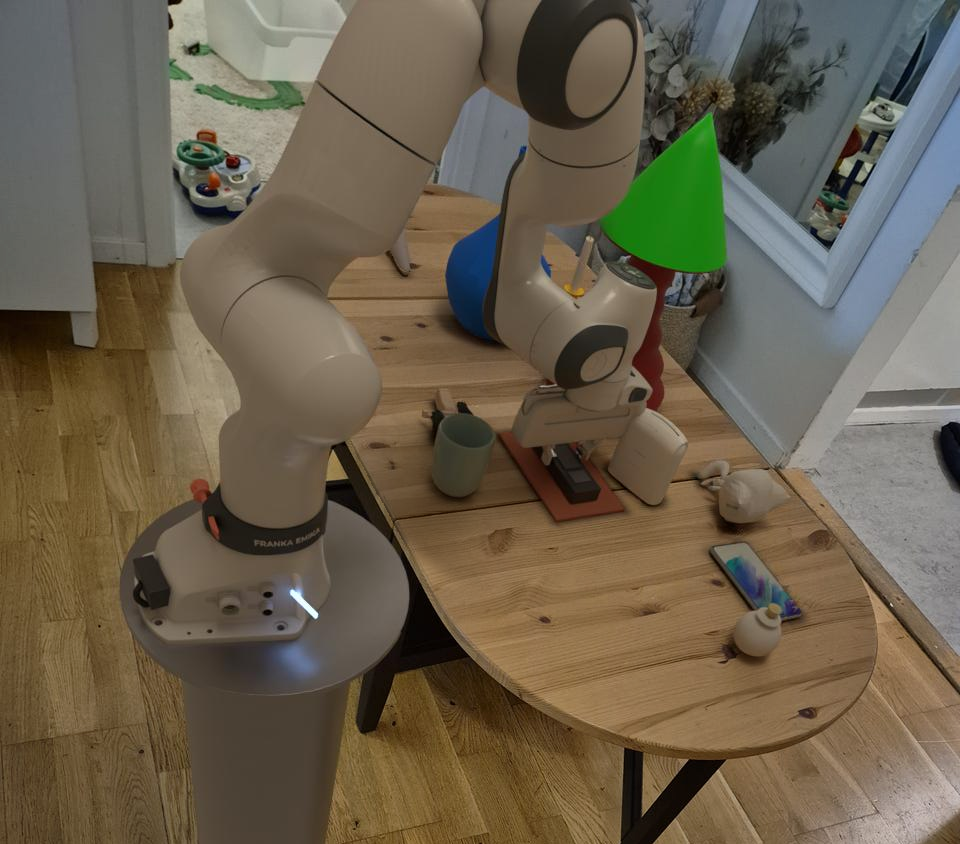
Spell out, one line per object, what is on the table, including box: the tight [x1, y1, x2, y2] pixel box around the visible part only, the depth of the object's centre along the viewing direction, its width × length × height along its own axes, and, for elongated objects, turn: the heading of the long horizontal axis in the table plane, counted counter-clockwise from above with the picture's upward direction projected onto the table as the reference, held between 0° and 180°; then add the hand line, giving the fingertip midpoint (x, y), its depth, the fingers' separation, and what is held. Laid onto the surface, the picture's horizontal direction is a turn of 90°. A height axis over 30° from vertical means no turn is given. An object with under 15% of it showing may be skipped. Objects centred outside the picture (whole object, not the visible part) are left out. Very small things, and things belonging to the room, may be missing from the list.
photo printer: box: [607, 408, 689, 506], centre depth 124 cm, size 10×4×12 cm, turn 41°
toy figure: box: [421, 387, 474, 438], centre depth 125 cm, size 7×6×15 cm
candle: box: [563, 235, 595, 300], centre depth 152 cm, size 5×5×16 cm
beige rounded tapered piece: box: [695, 460, 791, 524], centre depth 128 cm, size 10×8×15 cm
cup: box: [430, 412, 496, 498], centre depth 115 cm, size 8×8×10 cm
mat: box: [498, 431, 626, 523], centre depth 126 cm, size 12×20×1 cm, turn 24°
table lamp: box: [546, 111, 728, 413], centre depth 125 cm, size 20×20×45 cm
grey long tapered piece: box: [388, 227, 411, 276], centre depth 161 cm, size 8×9×26 cm
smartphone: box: [709, 541, 803, 622], centre depth 119 cm, size 7×1×15 cm
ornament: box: [732, 596, 804, 657], centre depth 107 cm, size 6×7×10 cm
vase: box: [444, 145, 552, 341], centre depth 138 cm, size 18×18×30 cm
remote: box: [532, 443, 601, 504], centre depth 125 cm, size 15×5×2 cm, turn 24°
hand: (564, 460), depth 125 cm, fingers closed on remote, 4 cm apart
